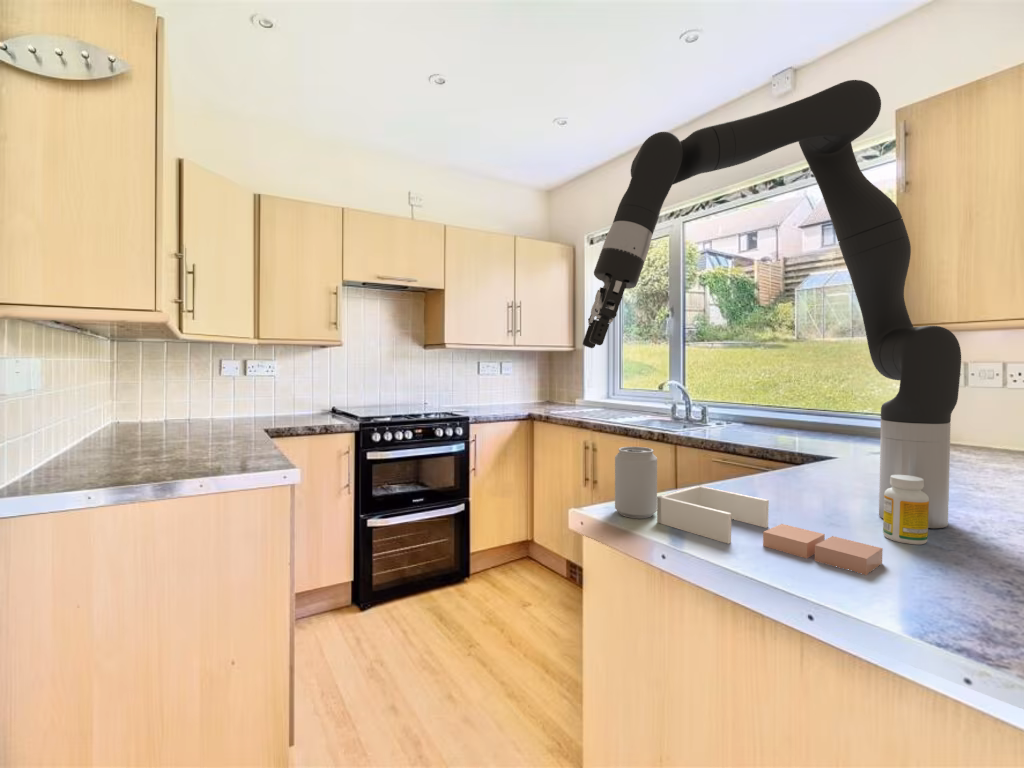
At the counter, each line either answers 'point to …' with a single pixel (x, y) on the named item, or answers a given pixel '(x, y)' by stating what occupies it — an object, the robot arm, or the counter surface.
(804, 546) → the tile
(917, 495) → the supplement bottle
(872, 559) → the tile
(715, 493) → the white u-shaped bracket
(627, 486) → the can
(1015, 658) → the counter surface
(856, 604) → the counter surface
